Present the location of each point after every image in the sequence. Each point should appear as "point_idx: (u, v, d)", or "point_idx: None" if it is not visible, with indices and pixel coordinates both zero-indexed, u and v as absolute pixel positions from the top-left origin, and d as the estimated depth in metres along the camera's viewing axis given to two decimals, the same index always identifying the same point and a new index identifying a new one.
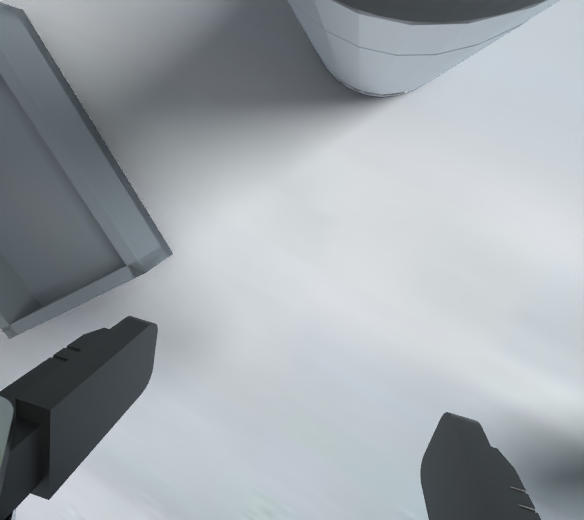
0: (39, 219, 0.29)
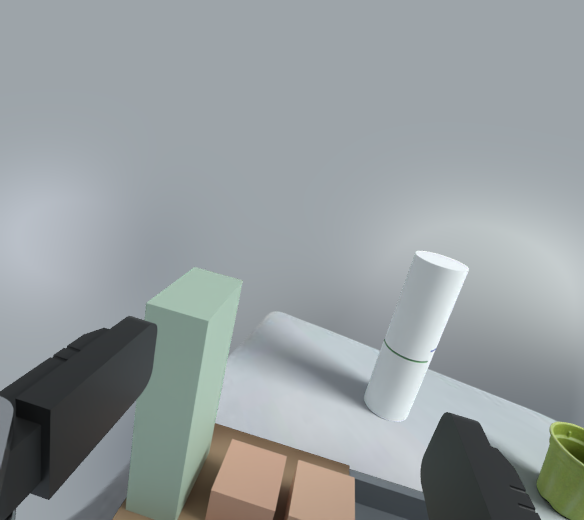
0: None
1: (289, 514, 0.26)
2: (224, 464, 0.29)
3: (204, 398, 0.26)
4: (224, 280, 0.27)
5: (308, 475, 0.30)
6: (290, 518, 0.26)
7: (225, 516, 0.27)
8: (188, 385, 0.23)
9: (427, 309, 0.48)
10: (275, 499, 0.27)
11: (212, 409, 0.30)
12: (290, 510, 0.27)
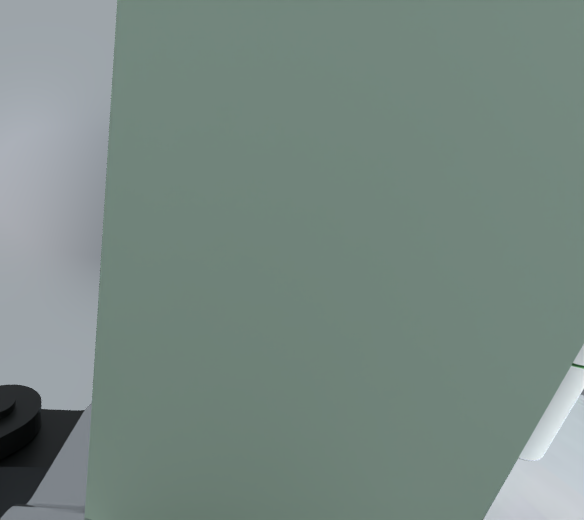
0: None
1: None
2: None
3: None
4: None
5: None
6: None
7: None
8: None
9: None
10: None
11: None
12: None
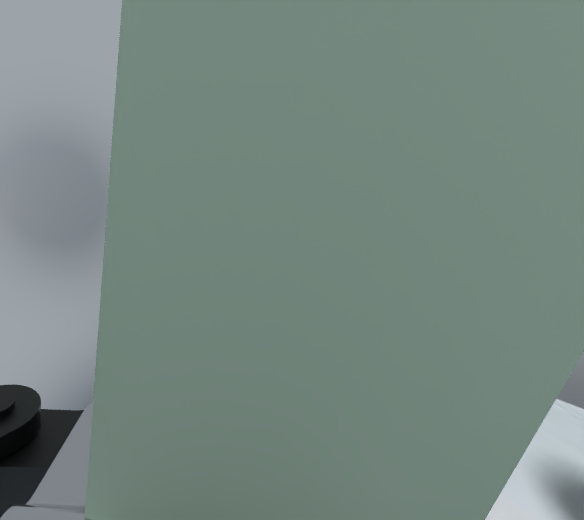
0: None
1: None
2: None
3: None
4: None
5: None
6: None
7: None
8: None
9: None
10: None
11: None
12: None
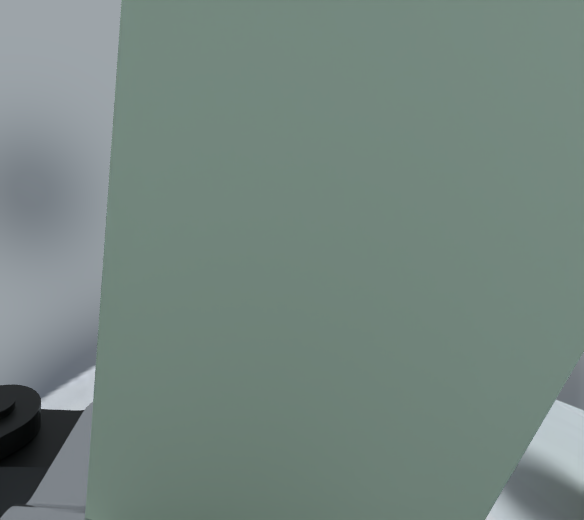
0: None
1: None
2: None
3: None
4: None
5: None
6: None
7: None
8: None
9: None
10: None
11: None
12: None
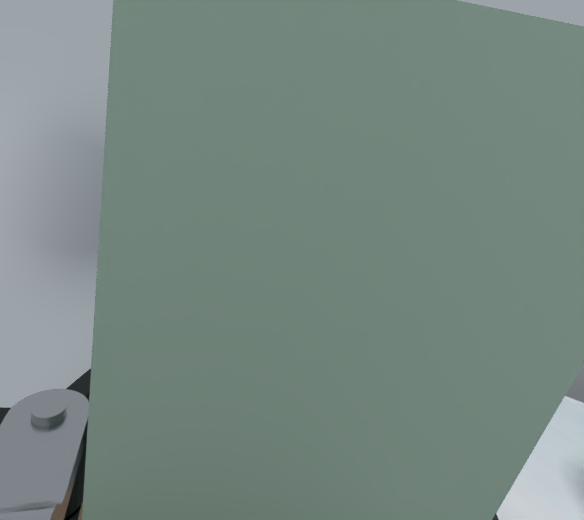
0: None
1: None
2: None
3: None
4: None
5: None
6: None
7: None
8: None
9: None
10: None
11: None
12: None
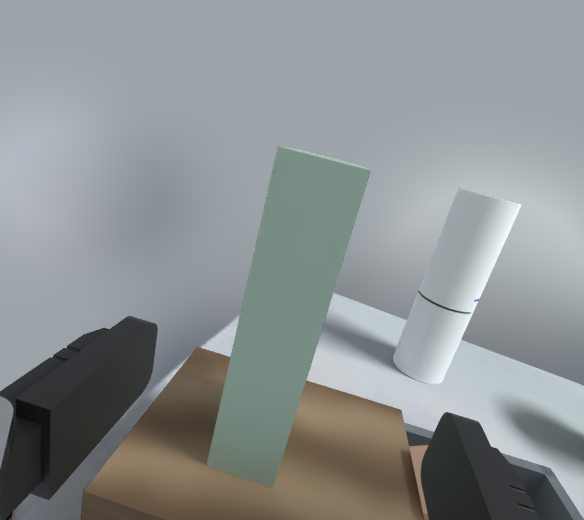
0: None
1: None
2: None
3: None
4: (344, 161, 0.21)
5: None
6: None
7: None
8: (324, 276, 0.16)
9: (474, 249, 0.42)
10: None
11: None
12: None
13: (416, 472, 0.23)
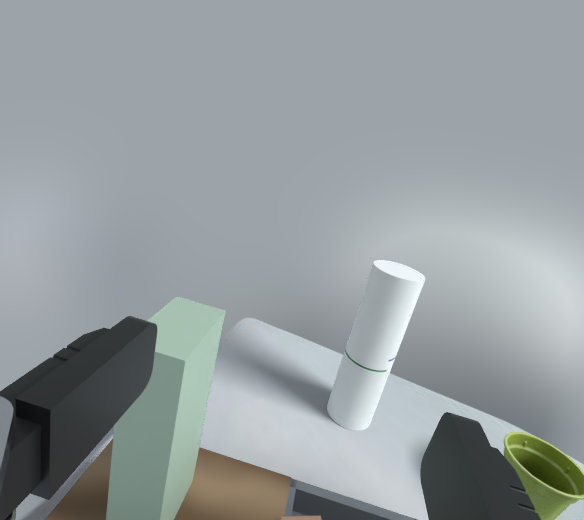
0: None
1: None
2: None
3: (184, 433, 0.25)
4: (206, 311, 0.27)
5: None
6: None
7: None
8: (165, 423, 0.22)
9: (383, 319, 0.48)
10: None
11: (194, 440, 0.29)
12: None
13: None
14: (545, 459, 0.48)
